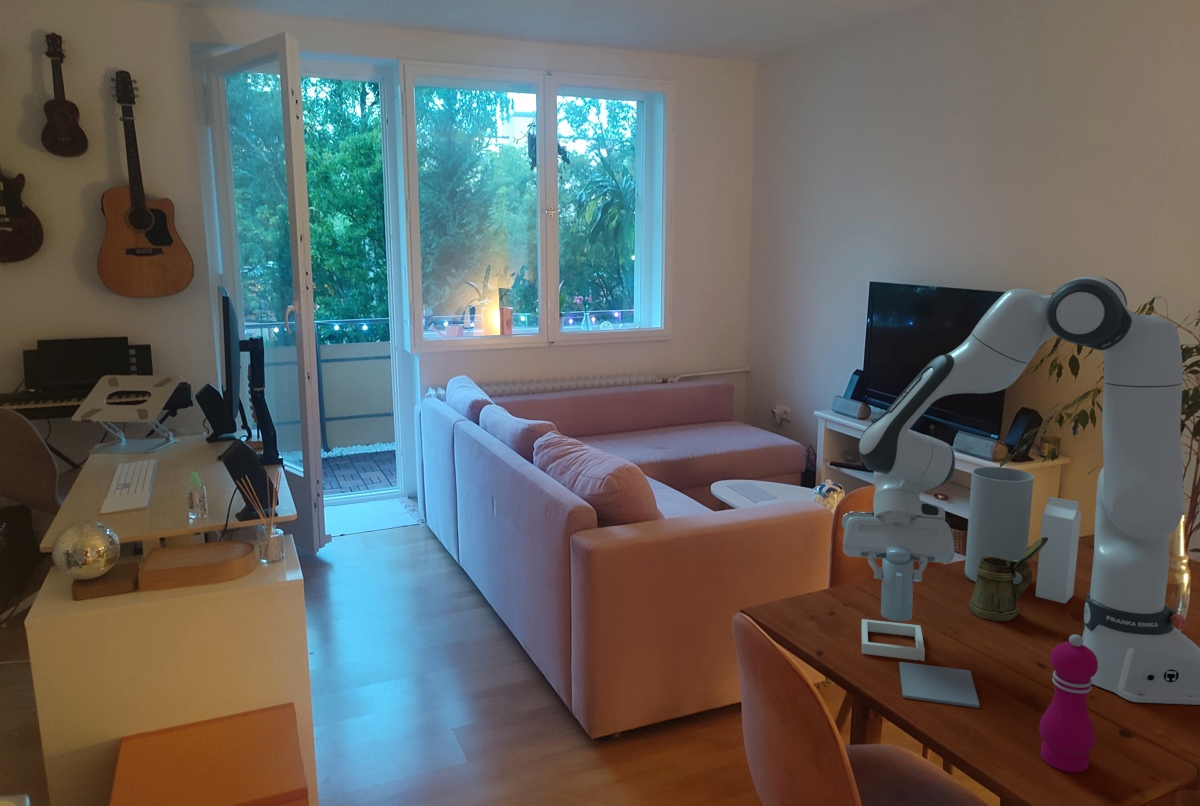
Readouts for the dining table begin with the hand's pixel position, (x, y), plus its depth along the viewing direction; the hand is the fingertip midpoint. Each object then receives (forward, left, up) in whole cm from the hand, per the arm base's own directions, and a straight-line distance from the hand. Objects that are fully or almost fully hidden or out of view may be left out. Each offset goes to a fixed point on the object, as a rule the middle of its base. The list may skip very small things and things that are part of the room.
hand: (897, 579), depth 157 cm
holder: (0, -1, -14) cm, 14 cm away
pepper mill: (-23, +31, -14) cm, 41 cm away
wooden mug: (-23, -21, -14) cm, 34 cm away
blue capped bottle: (0, +1, -8) cm, 8 cm away
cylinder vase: (-24, -41, -14) cm, 49 cm away
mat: (-7, +13, -14) cm, 20 cm away
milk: (-35, -34, -14) cm, 50 cm away
